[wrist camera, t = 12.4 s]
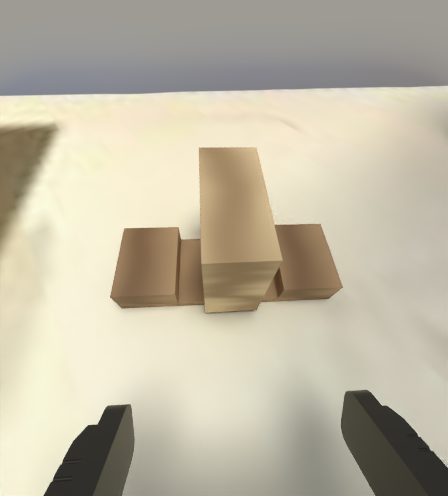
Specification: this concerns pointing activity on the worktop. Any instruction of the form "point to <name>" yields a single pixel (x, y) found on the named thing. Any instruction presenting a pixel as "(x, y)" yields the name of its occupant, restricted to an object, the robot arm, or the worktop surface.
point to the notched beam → (190, 269)
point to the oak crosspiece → (235, 230)
